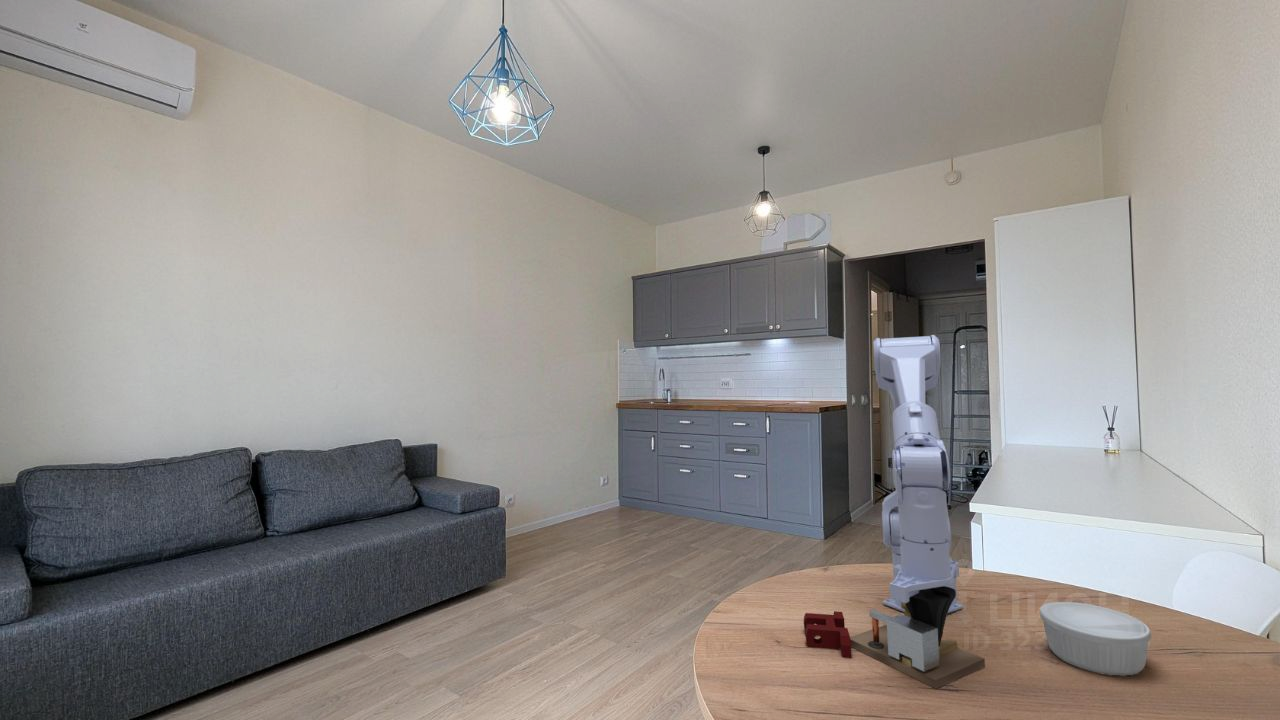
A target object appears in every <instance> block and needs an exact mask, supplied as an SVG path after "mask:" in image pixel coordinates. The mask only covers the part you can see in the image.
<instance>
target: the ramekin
mask: <svg viewBox="0 0 1280 720" xmlns="http://www.w3.org/2000/svg"><path fill="white" fill-rule="evenodd" d="M1039 616H1040V619H1041V621H1042V623H1043V626H1044V630H1045V631H1044V632H1045V636H1046V640H1047V644H1048V647H1049V648H1050V650H1051V651H1052V652H1053V654H1054V655H1055V656H1056V657H1058V658H1059V659H1061V661H1063V662H1066V663H1067V664H1068V665H1069V664H1070V665H1071V666H1074V667H1075V668H1076V667H1077V668H1079V669H1082V670H1085V671H1089V672H1091V671H1093V672H1092V673H1095V672H1097V673H1096V674H1100V673H1103V674H1102V675H1105V674H1110V675H1109V676H1112V675H1121V676H1120V677H1127V676H1126V675H1131V676H1135V675H1137V674H1139V673H1141V671H1143V669H1144V668H1145V666H1146V662H1147V655H1148V649H1149V647H1148V646H1149V642H1150V641H1151V640H1152V639H1151V637H1152V634H1151V633H1152V632H1151V630H1150V628H1149V626H1148V625H1147V624H1145V622H1143V621H1141V620H1139V619H1138V618H1136V617H1134V616H1132V615H1130V614H1127V613H1124V612H1122V611H1118V610H1117V609H1116V610H1115V609H1111V608H1107V607H1104V606H1101V605H1100V606H1099V605H1095V604H1090V603H1082V602H1076V601H1075V602H1073V601H1055V602H1048V603H1047V602H1046V603H1044V604H1043V605H1041V607H1040V609H1039ZM1134 674H1135V675H1134ZM1122 675H1123V676H1122Z"/></svg>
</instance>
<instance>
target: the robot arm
mask: <svg viewBox="0 0 1280 720" xmlns="http://www.w3.org/2000/svg"><path fill="white" fill-rule="evenodd" d="M940 345H941V344H940V340H939V337H937V336H936V335H935V334H931V335H924V336H908V337H891V338H890V337H889V338H880V337H876V338H875V339H874V340H873V358H874V359H873V361H874V373H875V381H876V383H877V387H878V389H881V390H884V391H885V392H888V393H889V396H890V398H891V401H892V403H893V413H892V416H891V419H892V430H893V431H892V432H893V443H894V445H893V446H894V449H892V452H891V453H892V454H891V460H892V477H893V484H894V487H895V490H894V491H892V492H891V493H889V494H888V495H887V496H885V497H884V499H883V501H882V502H881V505H882V506H881V507H882V511H881V517H882V519H881V520H882V539H883V541H882V543H883V544H884V545H885V546H886V548H890V549H891V554H892V572H893V573H892V574H893V581H891V582H890V583H889V598H887V599H884V600H882V604H883V605H885V606H888V607H891V608H892V609H895V610H897V611H900V612H903V613H905V609H902V608H901V602H903V603H905V605H906V606H907V608H908V610H909V613H910V615H911V617H912V618H913V619H915V620H918V621H920V622H923V623H926V624H928V625H931V626H933V627H936V628H938V645H939V646H940V643H941V641H942V638H943V634H944V628H945V623H946V619H947V615H948V614H950V613H952V612H955V611H959V610H960V609H963V608H964V607H963V604H961V603H959V602H958V592H957V578H959V577H960V567H959V565H960V564H959V562H958V561H953V559H952V557H951V556H950V555H951V554H950V550H951V548H952V531H951V529H952V528H951V523H950V518H949V512H948V511H949V510H948V505H947V503H948V502H947V492H946V491H949V488H950V483H951V467H950V460H949V456H948V455H949V454H948V451H947V449H946V446H945V444H944V441H943V440H941V436H940V430H939V424H938V418H937V413H936V411H935V410H934V408H933V407H932V406H930V405H928V404H926V392H927V391H928V390H931V389H933V388H935V387H937V382H938V381H939V376H940V369H941V362H942V361H941V358H942V355H941V346H940ZM943 483H944V487H945V490H946V491H945V490H944V489H943ZM896 507H897V509H894V508H896Z"/></svg>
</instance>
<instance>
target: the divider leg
mask: <svg viewBox="0 0 1280 720" xmlns="http://www.w3.org/2000/svg"><path fill="white" fill-rule="evenodd" d="M868 612H869V615H868V616H869V617H870V618H872V619H871V623H872V629H873V641H874V642H876V643H879V642H880V640H879V627H880V623H879V621H880V622H882V623H885V624H886V625H887V637H888V655H890V656H892V657H894V658H896V659H898V660H901V659H902V656H907V657H909V658H912V666H913V667H915V668H917V669H920V670H922V671H924V672H925V671H927V670H930V669H932V668H934V667H937V666H939V665H940V663H939V645H938V628H936V627H933V626H931V625H928V624H926V623H923V622H920V621H918V620H915V619H913V618H910V617H908V616H905V614H903V613H901V614H898V615H895V616H891V615H889V614H886V613H885V612H881V611H880V610H876V609H872V610H868Z"/></svg>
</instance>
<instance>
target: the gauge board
mask: <svg viewBox="0 0 1280 720" xmlns="http://www.w3.org/2000/svg"><path fill="white" fill-rule="evenodd" d="M901 608H902V609H905V612H904V615H905V616H908V617H910V618H912V617H911V615H910V613H909V610H908V608H907V606H906V605H905V603H903V602H901ZM879 640H880V642H879V643H876V642H874V641H873V628H872V629H870V630H867V631H864V632H860V633H858V634H855V635H852V636H850V641H851V649H852V648H853V649H854V650H856V651H859V652H861V653H863V654H865V655H867V656H869V657H870V658H873V659H875V660H877V661H879V662H880V663H884V664H885V665H887V666H889V667H891V668H893V669H895V670H897V671H899V672H901V673H904V674H906V675H907V676H910V677H912V678H913V679H915V680H917V681H919V682H922V683H924V684H926V685H928V686H930V687H931V688H933V689H935V690H937V689H939V688H941V687H943V686H946V685H947V684H950V683H952V682H954V681H957V680H958V679H961V678H962V677H965V676H967V675H968V676H969V675H970V674H973V673H974V672H977V671H978V670H980V669H981V670H982V669H983V668H985V667H986V659H985V658H984V657H982V656H979V655H977V654H975V653H972V652H969V651H967V650H965V649H962V648H959V647H958V641H956V640H953V639H950V638H946V639H944V640H941V643H940V646H939V663H940V665H939V666H937V667H934V668H932V669H930V670H927V671H925V672H924V671H922V670H920V669H917V668H915V667H913V666H912V658H909V657H907V656H902V659H901V660H898V659H896V658H894V657H892V656H890V655H888V637H887V624H885V625H881V626H879Z"/></svg>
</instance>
